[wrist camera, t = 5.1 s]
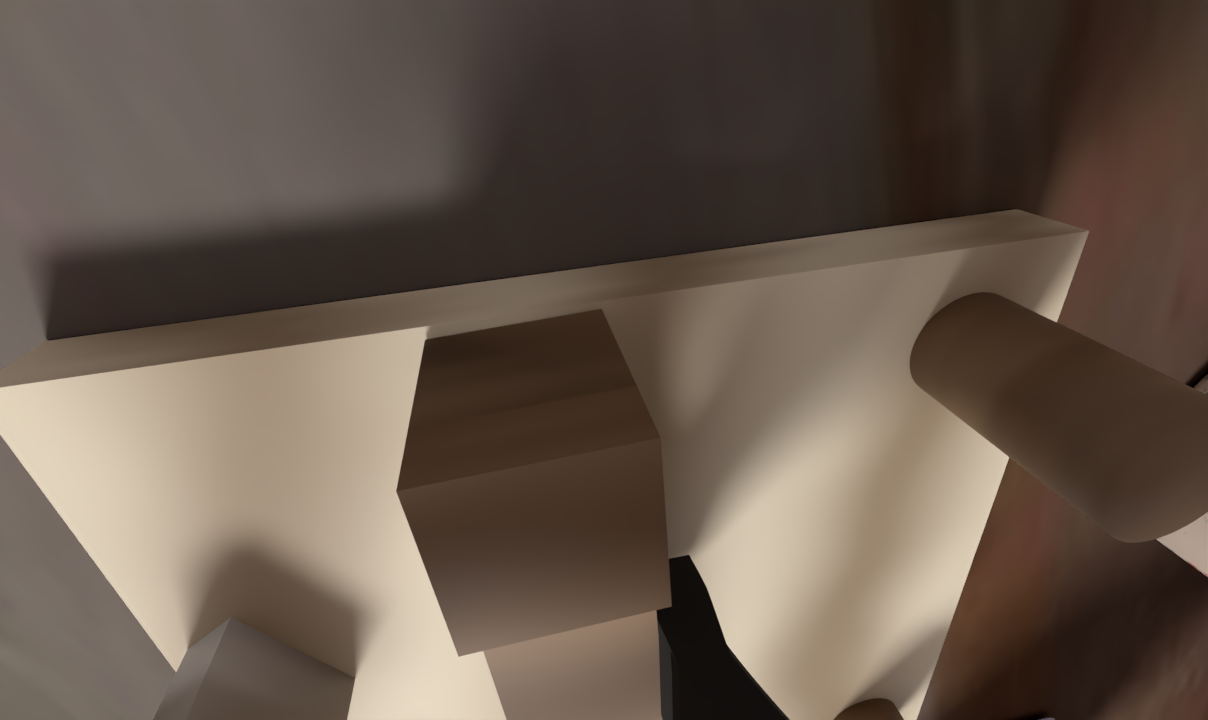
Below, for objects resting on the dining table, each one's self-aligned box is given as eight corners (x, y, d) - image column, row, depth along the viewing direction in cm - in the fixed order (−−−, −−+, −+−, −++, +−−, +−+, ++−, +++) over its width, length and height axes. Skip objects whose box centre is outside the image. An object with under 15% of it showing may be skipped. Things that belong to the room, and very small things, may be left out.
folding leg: (652, 755, 16) (692, 919, 13) (554, 781, 16) (571, 956, 13) (602, 308, 9) (660, 437, 6) (425, 339, 9) (396, 491, 6)
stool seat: (1017, 209, 12) (1395, 324, 7) (879, 692, 20) (1006, 897, 15) (44, 341, 9) (-416, 651, 5) (347, 824, 18) (298, 1113, 13)
